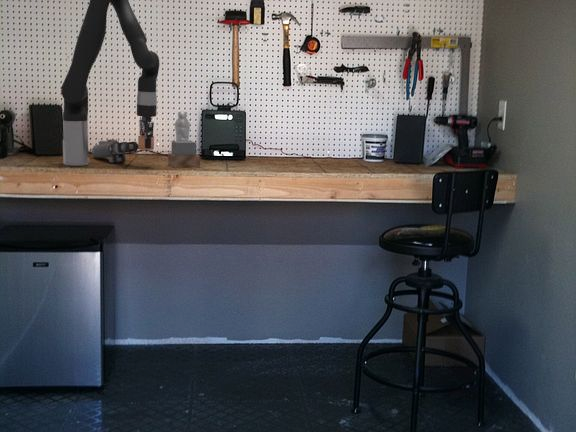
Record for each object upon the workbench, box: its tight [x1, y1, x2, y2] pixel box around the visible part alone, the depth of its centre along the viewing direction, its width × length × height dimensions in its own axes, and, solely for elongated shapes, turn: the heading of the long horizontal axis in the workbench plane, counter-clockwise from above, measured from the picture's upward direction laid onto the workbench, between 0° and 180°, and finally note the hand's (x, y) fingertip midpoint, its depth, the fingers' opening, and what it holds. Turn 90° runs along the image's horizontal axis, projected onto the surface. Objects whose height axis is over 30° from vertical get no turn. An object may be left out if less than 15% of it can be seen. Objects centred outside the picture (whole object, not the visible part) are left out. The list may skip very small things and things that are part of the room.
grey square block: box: [171, 140, 197, 156], centre depth 302 cm, size 8×8×5 cm
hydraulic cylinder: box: [91, 138, 139, 164], centre depth 310 cm, size 7×37×10 cm, turn 38°
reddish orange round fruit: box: [137, 135, 155, 151], centre depth 295 cm, size 6×6×5 cm
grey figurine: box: [174, 111, 191, 141], centre depth 324 cm, size 6×7×20 cm
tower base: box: [167, 152, 201, 169], centre depth 303 cm, size 10×10×5 cm
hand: (146, 147), depth 295 cm, fingers closed on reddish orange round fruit, 6 cm apart
